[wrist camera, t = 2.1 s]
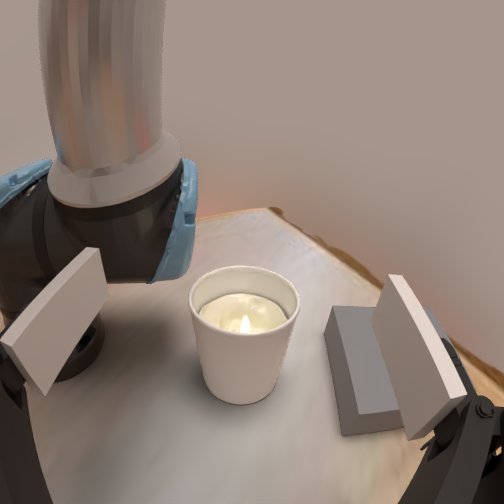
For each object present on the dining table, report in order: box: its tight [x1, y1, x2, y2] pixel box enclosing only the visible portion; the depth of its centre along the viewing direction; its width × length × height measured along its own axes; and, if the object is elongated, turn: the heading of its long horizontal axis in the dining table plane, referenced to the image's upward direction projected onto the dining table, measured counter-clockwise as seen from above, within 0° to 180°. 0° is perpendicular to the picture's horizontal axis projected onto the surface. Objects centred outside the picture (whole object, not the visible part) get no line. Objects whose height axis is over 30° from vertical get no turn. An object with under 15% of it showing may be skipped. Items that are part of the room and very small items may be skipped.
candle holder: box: [188, 266, 301, 405], centre depth 27 cm, size 10×10×12 cm
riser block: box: [324, 306, 476, 436], centre depth 29 cm, size 16×16×5 cm
